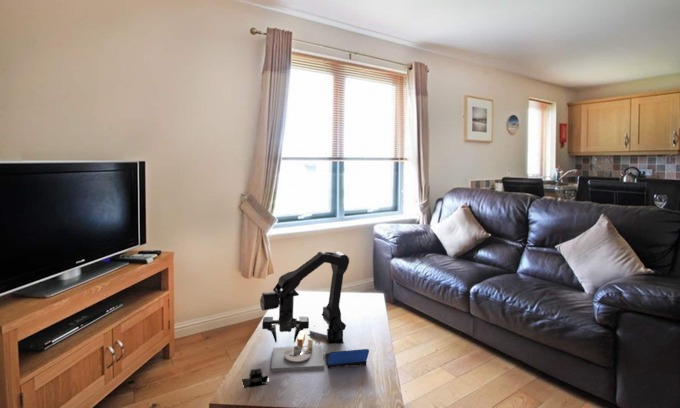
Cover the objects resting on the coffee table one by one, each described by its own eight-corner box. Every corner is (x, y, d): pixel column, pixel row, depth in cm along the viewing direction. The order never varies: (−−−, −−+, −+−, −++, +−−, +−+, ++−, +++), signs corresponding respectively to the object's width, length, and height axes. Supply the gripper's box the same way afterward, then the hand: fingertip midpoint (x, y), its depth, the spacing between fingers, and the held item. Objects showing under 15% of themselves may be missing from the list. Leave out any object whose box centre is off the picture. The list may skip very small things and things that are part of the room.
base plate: (321, 348, 155) (321, 335, 154) (324, 369, 140) (324, 354, 139) (273, 351, 152) (273, 337, 152) (271, 372, 138) (271, 357, 137)
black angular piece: (238, 392, 127) (237, 379, 126) (238, 379, 134) (237, 367, 133) (274, 386, 130) (274, 374, 129) (272, 374, 137) (272, 363, 136)
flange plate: (322, 354, 147) (322, 343, 147) (293, 365, 139) (293, 354, 138) (303, 340, 158) (303, 330, 157) (275, 351, 149) (275, 340, 148)
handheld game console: (361, 353, 153) (361, 332, 151) (369, 371, 140) (370, 349, 138) (324, 356, 150) (324, 335, 149) (328, 375, 137) (329, 352, 136)
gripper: (261, 315, 141) (260, 353, 143) (309, 314, 143) (308, 352, 145) (263, 303, 151) (263, 338, 154) (308, 303, 154) (307, 338, 156)
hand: (285, 342), depth 152 cm, fingers open, 7 cm apart
